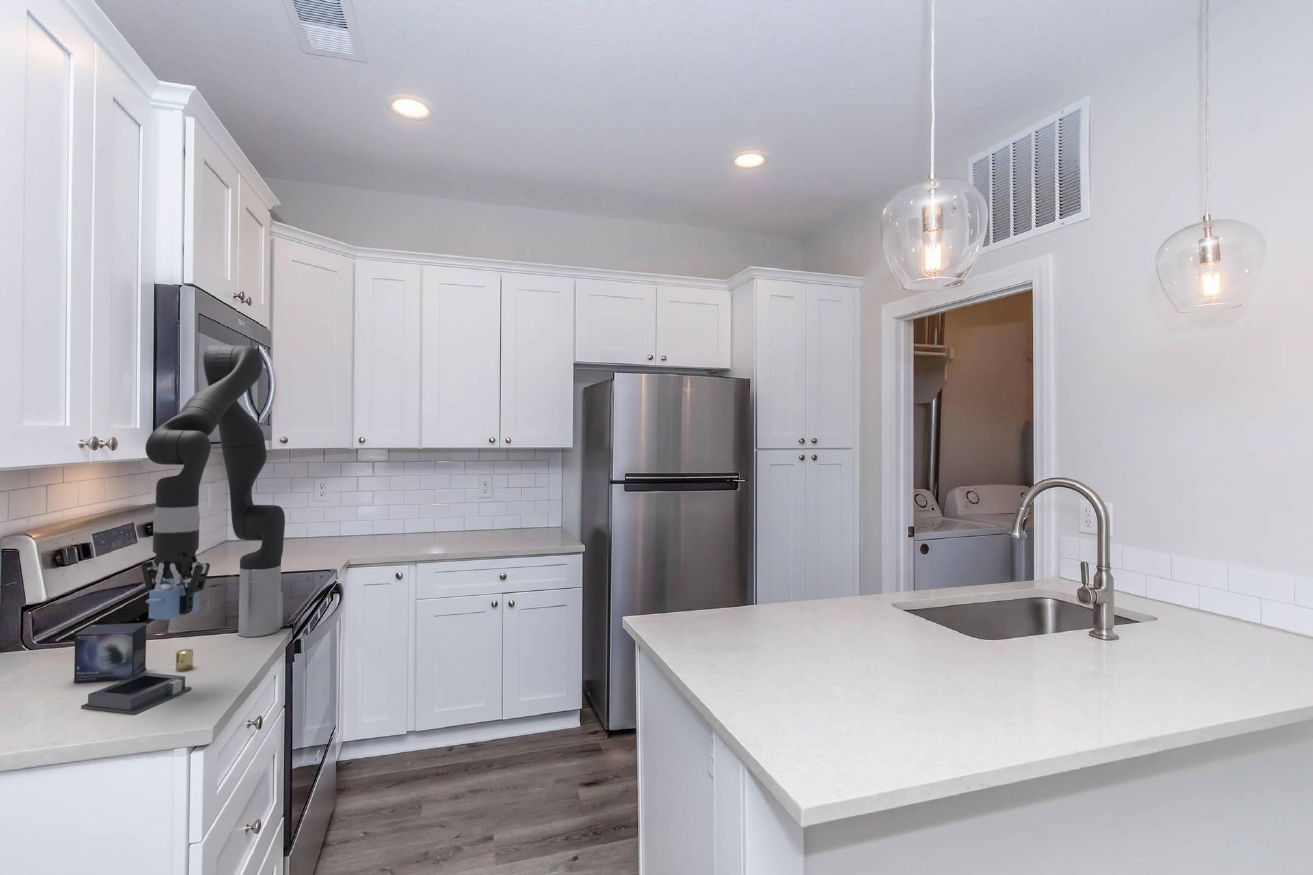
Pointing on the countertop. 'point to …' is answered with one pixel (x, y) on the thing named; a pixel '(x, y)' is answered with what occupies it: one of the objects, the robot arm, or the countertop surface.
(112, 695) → the frame
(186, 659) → the cylinder
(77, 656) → the small box
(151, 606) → the servo
